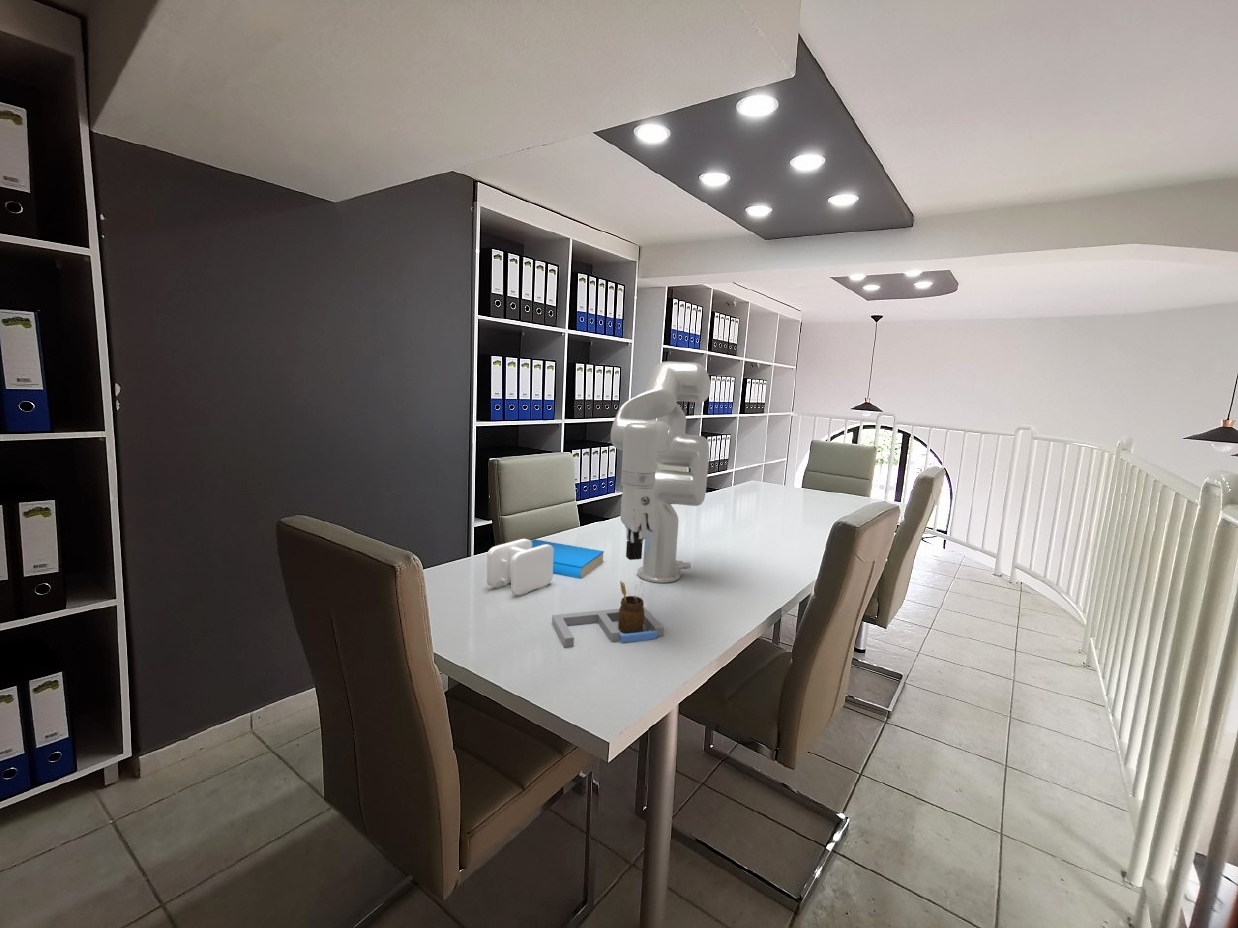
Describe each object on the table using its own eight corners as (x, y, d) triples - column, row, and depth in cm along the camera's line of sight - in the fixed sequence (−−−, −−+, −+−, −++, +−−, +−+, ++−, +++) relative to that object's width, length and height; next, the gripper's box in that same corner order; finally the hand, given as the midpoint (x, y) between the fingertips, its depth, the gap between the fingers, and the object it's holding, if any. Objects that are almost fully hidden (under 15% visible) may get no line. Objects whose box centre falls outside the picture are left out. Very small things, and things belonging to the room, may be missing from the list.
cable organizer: (512, 600, 141) (513, 556, 140) (485, 589, 148) (485, 547, 146) (553, 584, 153) (554, 543, 152) (526, 574, 160) (527, 535, 158)
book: (533, 539, 182) (604, 549, 174) (533, 551, 183) (603, 563, 174) (505, 553, 166) (581, 566, 158) (505, 567, 167) (581, 580, 159)
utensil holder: (648, 631, 128) (652, 581, 126) (626, 637, 124) (629, 586, 123) (633, 621, 133) (636, 573, 131) (611, 626, 129) (614, 577, 127)
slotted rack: (643, 613, 137) (644, 606, 137) (665, 637, 125) (665, 629, 125) (552, 623, 129) (552, 615, 129) (565, 649, 117) (565, 640, 117)
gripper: (667, 485, 117) (662, 568, 120) (641, 472, 131) (637, 547, 134) (634, 485, 115) (629, 570, 118) (611, 473, 129) (607, 549, 132)
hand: (633, 558), depth 126 cm, fingers closed
